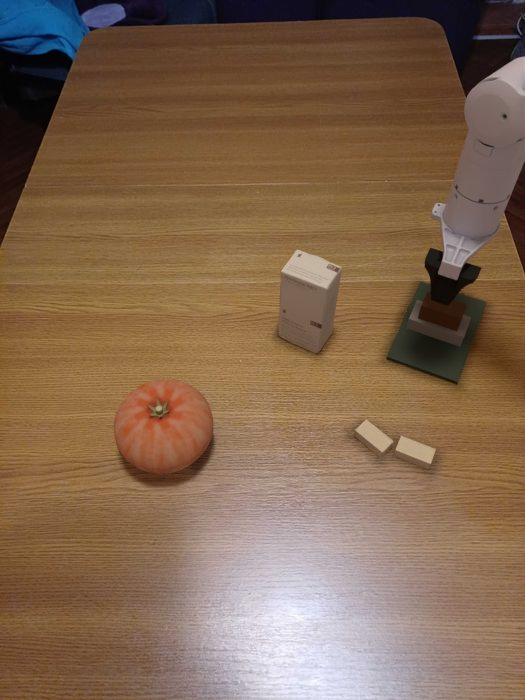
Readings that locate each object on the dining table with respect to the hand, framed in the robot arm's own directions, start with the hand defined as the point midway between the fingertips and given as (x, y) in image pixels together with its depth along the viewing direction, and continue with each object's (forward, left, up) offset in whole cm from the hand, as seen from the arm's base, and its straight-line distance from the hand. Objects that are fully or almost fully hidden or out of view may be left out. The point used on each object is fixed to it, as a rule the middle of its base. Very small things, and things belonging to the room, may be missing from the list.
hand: (449, 278), depth 72 cm
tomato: (+22, +29, -10) cm, 38 cm away
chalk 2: (-3, +19, -9) cm, 21 cm away
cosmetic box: (+14, +8, -10) cm, 19 cm away
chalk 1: (+2, +19, -9) cm, 21 cm away
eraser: (0, 0, -9) cm, 9 cm away
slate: (-1, 0, -9) cm, 9 cm away
